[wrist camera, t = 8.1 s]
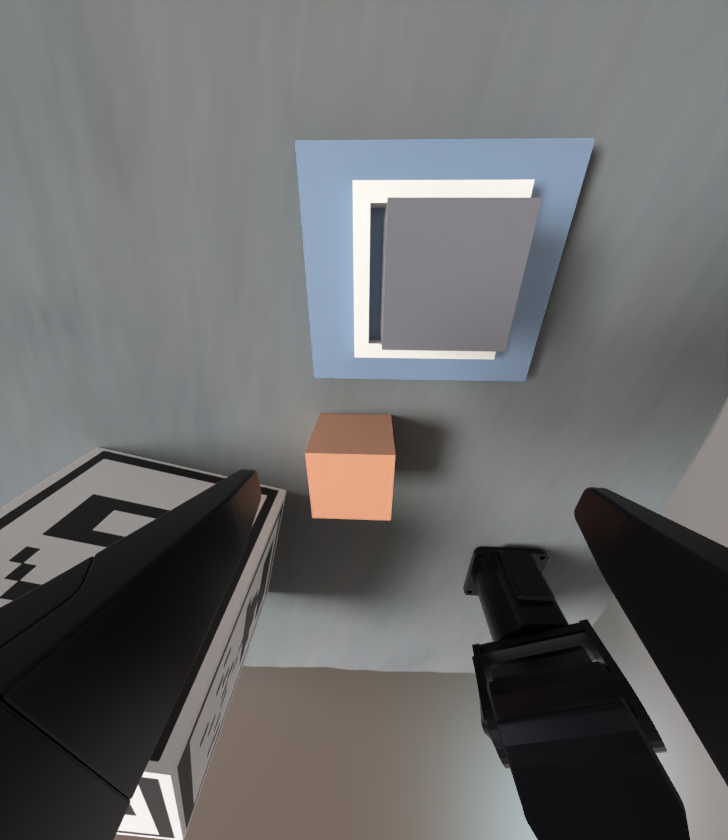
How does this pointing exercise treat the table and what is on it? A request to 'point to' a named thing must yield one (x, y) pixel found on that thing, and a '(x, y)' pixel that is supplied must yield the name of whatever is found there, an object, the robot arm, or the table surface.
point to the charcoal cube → (453, 271)
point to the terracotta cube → (351, 467)
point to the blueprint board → (363, 242)
